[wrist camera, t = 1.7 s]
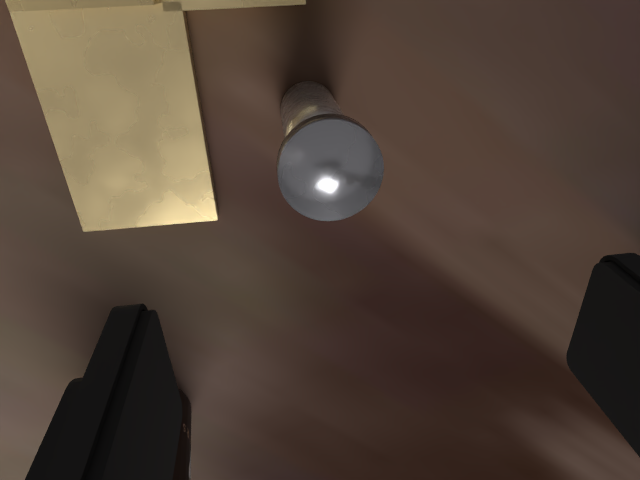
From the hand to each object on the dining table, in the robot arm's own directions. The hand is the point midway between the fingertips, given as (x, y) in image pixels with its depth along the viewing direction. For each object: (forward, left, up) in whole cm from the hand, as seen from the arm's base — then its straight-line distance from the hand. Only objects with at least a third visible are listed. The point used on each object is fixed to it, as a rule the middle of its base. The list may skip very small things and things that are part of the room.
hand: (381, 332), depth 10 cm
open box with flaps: (+7, -3, -20) cm, 21 cm away
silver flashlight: (0, 0, -20) cm, 20 cm away
